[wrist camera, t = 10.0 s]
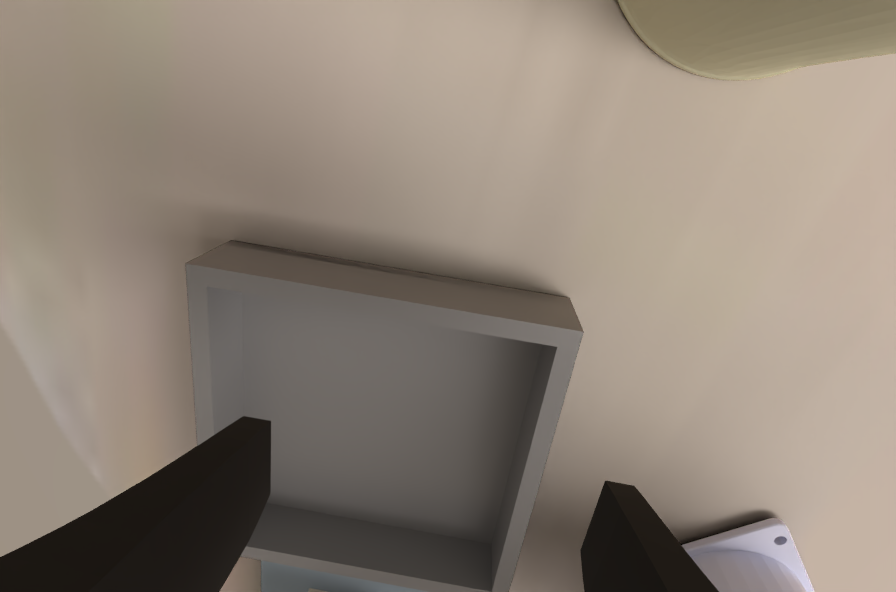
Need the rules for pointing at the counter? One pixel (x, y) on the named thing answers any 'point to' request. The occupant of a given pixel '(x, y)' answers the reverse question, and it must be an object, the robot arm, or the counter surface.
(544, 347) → the gray square tray
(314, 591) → the block
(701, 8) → the can
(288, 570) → the mat
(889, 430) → the counter surface
